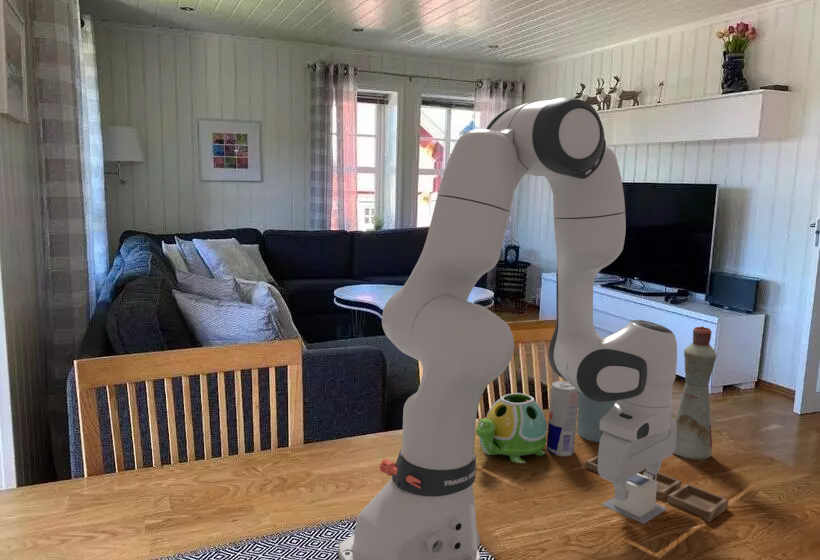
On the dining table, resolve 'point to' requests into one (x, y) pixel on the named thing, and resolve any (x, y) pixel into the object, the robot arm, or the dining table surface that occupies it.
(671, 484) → the tray
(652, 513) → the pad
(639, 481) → the white cube
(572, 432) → the beverage can
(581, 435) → the blue-grey plant pot
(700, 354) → the bottle
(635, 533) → the dining table surface
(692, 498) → the tray
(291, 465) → the dining table surface
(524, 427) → the turtle holder
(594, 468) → the tray
